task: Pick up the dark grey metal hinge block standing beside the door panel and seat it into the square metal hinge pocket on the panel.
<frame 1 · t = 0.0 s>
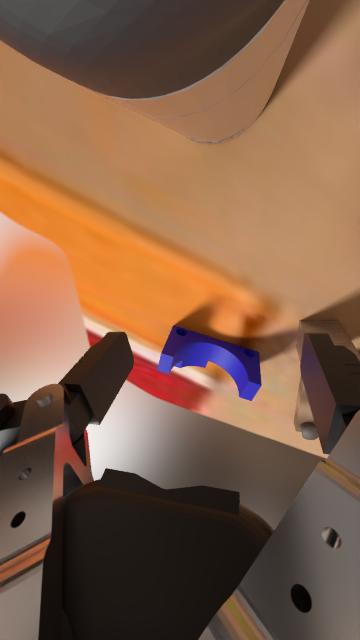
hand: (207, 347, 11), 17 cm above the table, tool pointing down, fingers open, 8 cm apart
hinge block: (316, 334, 28), on the table
cable clip: (211, 348, 33), on the table
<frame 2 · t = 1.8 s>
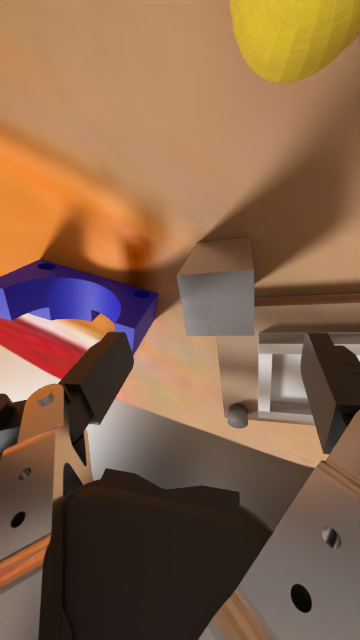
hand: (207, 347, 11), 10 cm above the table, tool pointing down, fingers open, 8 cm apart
hinge block: (224, 265, 19), on the table
door panel: (307, 362, 22), on the table
lemon: (289, 29, 12), on the table
cable clip: (99, 295, 24), on the table
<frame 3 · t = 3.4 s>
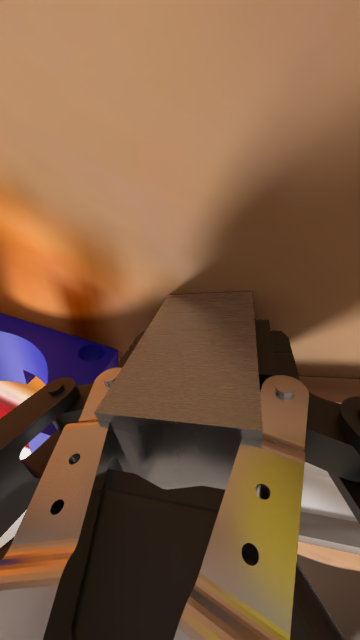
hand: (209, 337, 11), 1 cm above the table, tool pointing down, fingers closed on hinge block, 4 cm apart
hinge block: (211, 328, 12), on the table, touching gripper
door panel: (333, 459, 15), on the table
cable clip: (39, 345, 17), on the table
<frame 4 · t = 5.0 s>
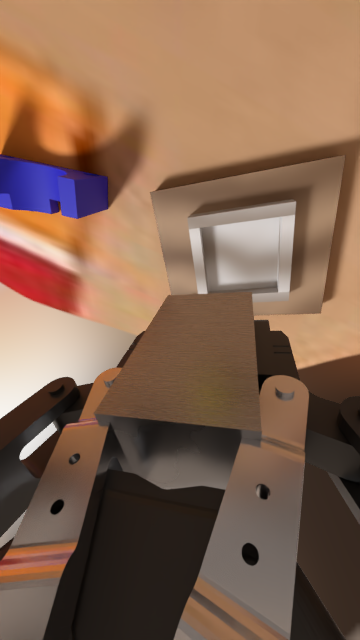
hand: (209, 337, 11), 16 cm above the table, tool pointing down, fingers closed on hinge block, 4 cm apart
hinge block: (211, 328, 12), point 16 cm above the table, touching gripper
door panel: (240, 251, 25), on the table
cable clip: (58, 189, 26), on the table
when the fingers open (4 cm above the table, at t = 7.0 s): hinge block drops 1 cm, resting on door panel.
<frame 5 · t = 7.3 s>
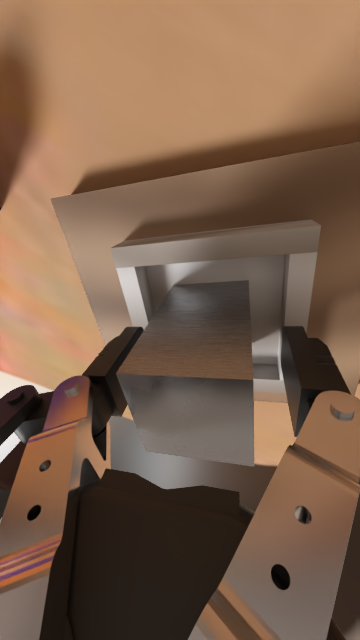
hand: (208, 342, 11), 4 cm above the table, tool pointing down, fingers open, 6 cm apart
hinge block: (212, 315, 13), point 2 cm above the table, touching door panel
door panel: (217, 300, 15), on the table
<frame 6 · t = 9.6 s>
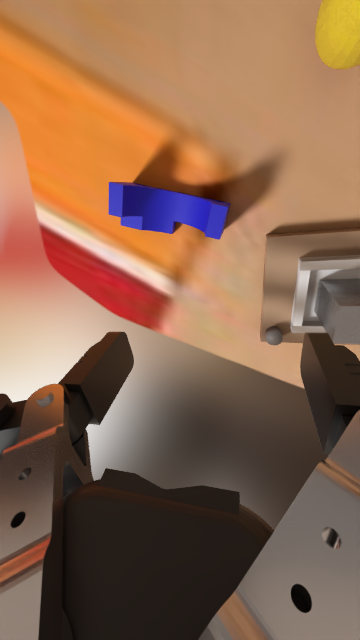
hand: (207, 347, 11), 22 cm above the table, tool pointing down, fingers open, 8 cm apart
hinge block: (335, 295, 27), point 2 cm above the table, touching door panel
door panel: (331, 289, 29), on the table
lemon: (341, 39, 19), on the table
cable clip: (178, 212, 29), on the table
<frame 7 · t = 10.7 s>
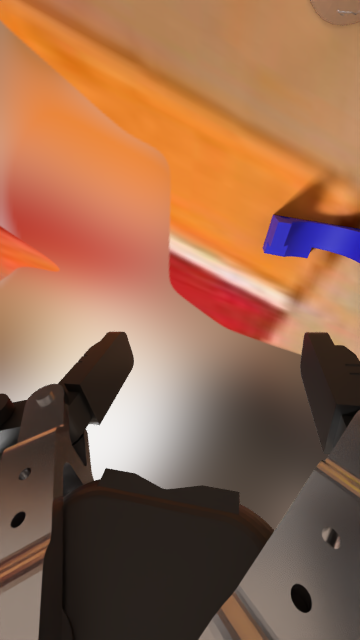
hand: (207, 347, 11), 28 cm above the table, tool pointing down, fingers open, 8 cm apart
cable clip: (311, 238, 33), on the table
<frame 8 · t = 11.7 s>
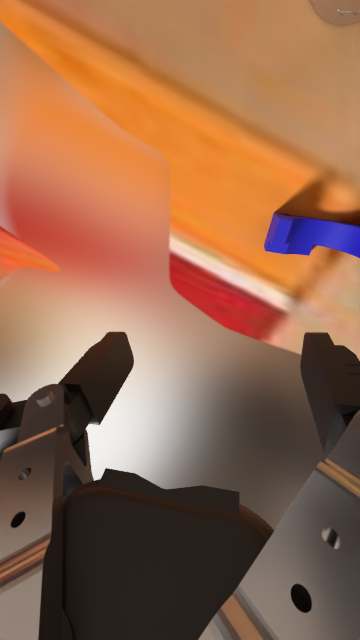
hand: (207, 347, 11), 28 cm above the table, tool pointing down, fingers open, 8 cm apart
cable clip: (312, 236, 33), on the table
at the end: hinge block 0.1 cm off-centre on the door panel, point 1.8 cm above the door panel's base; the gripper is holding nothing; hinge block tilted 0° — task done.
